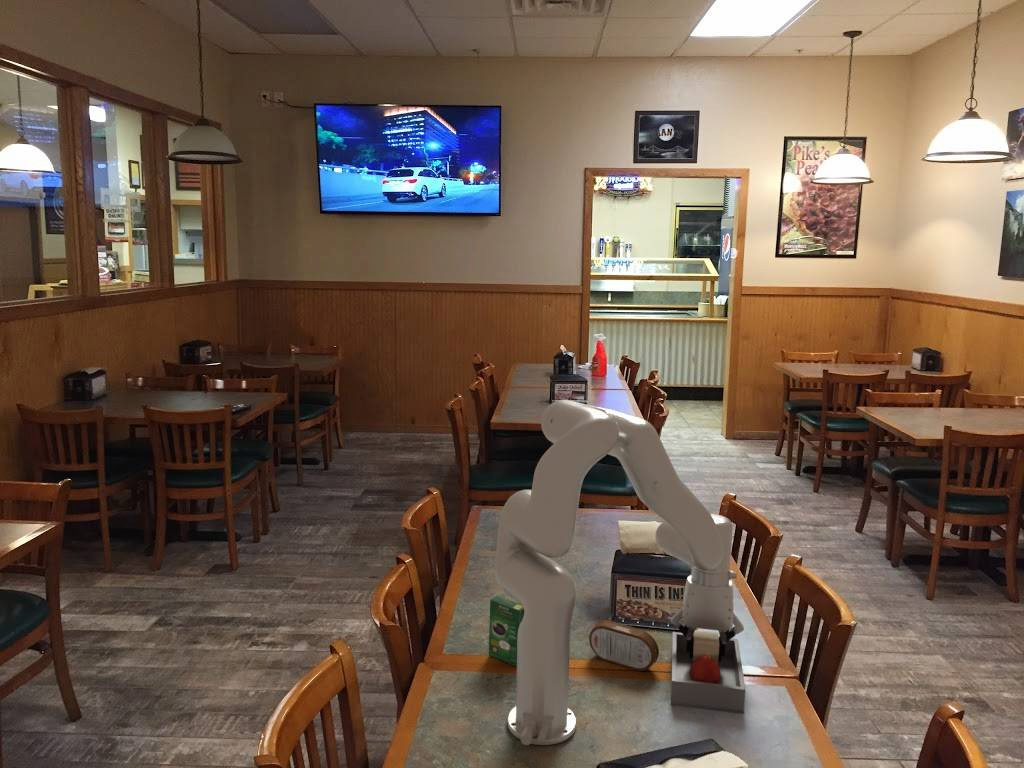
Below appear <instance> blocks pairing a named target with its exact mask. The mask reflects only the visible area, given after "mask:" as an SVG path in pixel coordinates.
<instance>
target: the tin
mask: <svg viewBox="0 0 1024 768" xmlns="http://www.w3.org/2000/svg"><path fill="white" fill-rule="evenodd" d="M588 642H589V645H590V648H591V650H592V652H593V653H594V654H595V655H596V656H597V658H600V659H601V660H604V661H606V662H609V661H610V662H609V663H612V662H613V663H612V664H616V665H619V666H622V667H625V668H627V669H632V670H634V671H639V672H641V671H642V672H643V671H646V670H649V669H650V668H651V667H652V666H653V665H654V664H655V663H656V662H657V660H658V659H659V655H660V651H659V650H660V649H659V645H658V643H657V641H656V640H655V638H654V637H653V636H652V635H651V634H650V633H648V632H647V631H645V630H643V629H640V628H636V627H633V626H628V625H625V624H621V623H619V622H615V621H611V620H608V619H606V620H605V619H604V620H600V621H598V622H597V623H596V624H595V625H594V626H593V628H592V629H591V630H590V632H589V636H588Z"/></svg>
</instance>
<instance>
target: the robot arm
mask: <svg viewBox="0 0 1024 768" xmlns="http://www.w3.org/2000/svg"><path fill="white" fill-rule="evenodd" d="M540 426H541V430H542V433H543V435H544V436H545V438H546V439H547V440H548V441H549V442H551V443H553V444H552V445H551V446H550V447H549V448H548V449H547V450H546V451H545V452H544V454H543V455H542V456H541V458H540V459H539V461H538V462H537V465H536V466H535V470H534V474H533V479H532V486H531V489H522V490H518V491H516V492H514V494H512V495H511V496H510V497H509V498H508V499H507V501H505V504H504V505H503V507H502V509H501V513H500V517H499V521H498V523H499V524H498V531H497V543H496V550H495V562H494V563H495V565H494V567H495V568H494V570H495V578H496V581H497V584H498V585H499V587H500V588H501V589H502V590H503V591H504V592H505V593H506V594H507V595H509V596H510V597H511V598H512V599H513V600H514V601H515V602H516V603H519V604H521V605H522V606H523V608H524V617H523V619H522V621H521V623H520V626H519V629H518V635H517V667H516V693H515V694H516V695H515V696H516V698H515V699H516V700H515V701H516V702H515V706H514V707H513V708H512V709H511V710H510V711H509V713H508V715H507V728H508V730H509V732H510V733H511V734H512V735H513V736H514V737H516V738H517V739H519V740H520V742H521V744H522V745H524V746H530V745H537V746H550V745H556V744H560V743H563V742H565V741H566V740H568V739H569V738H571V737H572V736H573V734H574V733H575V731H576V728H577V718H576V716H575V714H574V712H573V711H572V710H571V709H570V708H569V691H570V690H569V684H570V682H569V681H570V658H571V657H570V654H571V653H570V652H571V651H570V650H571V649H570V648H571V631H572V630H571V629H572V620H573V614H574V611H575V607H576V604H577V603H576V602H577V596H578V589H577V584H576V582H575V580H574V578H573V577H572V575H571V574H570V572H568V570H566V569H565V568H564V567H563V566H562V565H560V564H558V563H557V562H555V561H554V560H552V559H559V558H562V557H564V556H566V555H567V554H568V553H569V552H570V551H571V549H572V547H573V545H574V543H575V542H574V541H575V538H576V531H577V522H578V516H579V515H578V513H579V504H580V496H581V491H582V490H581V489H582V486H583V482H584V479H585V477H586V475H587V474H588V472H589V471H590V470H591V469H592V467H594V466H595V465H596V464H597V462H599V461H600V460H602V459H603V458H604V457H606V456H607V455H609V456H612V457H615V458H617V460H618V461H619V462H620V464H621V467H622V468H623V470H624V472H625V474H626V475H627V478H628V480H629V482H630V483H631V486H632V487H633V489H634V491H635V493H636V495H637V498H638V499H639V500H640V501H641V502H642V503H643V504H644V505H645V506H646V507H647V508H649V510H650V511H652V512H653V513H654V514H656V515H657V516H658V517H660V518H661V519H663V520H664V521H663V522H661V523H660V524H659V525H658V526H657V528H656V531H655V534H654V535H655V538H654V539H655V542H656V545H657V546H658V548H659V549H661V550H662V551H663V552H664V553H665V554H667V555H669V556H671V557H673V558H675V559H676V560H680V561H682V562H683V563H686V564H687V565H689V566H691V574H690V575H688V576H687V578H686V582H685V586H684V593H683V598H682V599H683V600H682V607H681V608H680V609H679V610H677V612H675V613H674V614H673V615H672V616H671V617H670V623H671V624H672V625H673V626H674V627H675V628H677V629H678V630H679V633H682V634H683V635H684V636H685V637H686V639H687V644H686V652H689V658H693V649H694V635H693V634H694V631H695V630H696V629H700V630H709V631H710V630H711V631H716V632H717V631H718V637H719V656H718V662H721V656H725V644H727V641H729V640H730V639H732V638H733V639H734V637H736V635H738V634H740V633H742V632H744V631H745V630H744V629H745V627H744V624H743V623H742V622H741V620H740V618H738V616H737V615H736V613H735V612H734V607H735V606H734V604H735V603H734V601H735V600H734V587H733V586H734V585H733V581H732V580H733V579H738V577H737V576H738V575H737V573H738V572H737V571H733V570H731V557H732V556H731V555H732V539H733V523H732V521H731V520H730V519H729V518H728V517H726V516H724V515H721V514H715V513H710V511H709V510H708V509H707V508H706V507H705V505H704V504H703V503H702V502H701V501H700V500H699V498H697V496H696V495H695V494H694V493H693V492H692V491H691V490H690V488H688V486H687V485H686V484H685V483H684V482H683V481H682V480H681V479H680V478H679V475H678V474H677V471H676V470H675V468H674V465H673V463H672V461H671V459H670V457H669V455H668V452H667V451H666V449H665V447H664V444H663V442H662V440H661V437H660V435H659V433H658V432H657V430H656V428H655V427H654V425H653V424H652V423H651V422H649V421H647V420H646V419H644V418H641V417H638V416H636V415H635V416H634V415H631V414H629V413H626V412H623V411H619V410H614V409H609V408H604V407H599V406H593V405H590V404H585V403H581V402H577V401H575V400H569V399H560V400H555V401H554V402H551V403H550V404H549V405H548V406H547V407H546V408H545V409H544V411H543V413H542V415H541V420H540ZM681 620H682V621H681ZM733 625H734V626H733Z"/></svg>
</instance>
